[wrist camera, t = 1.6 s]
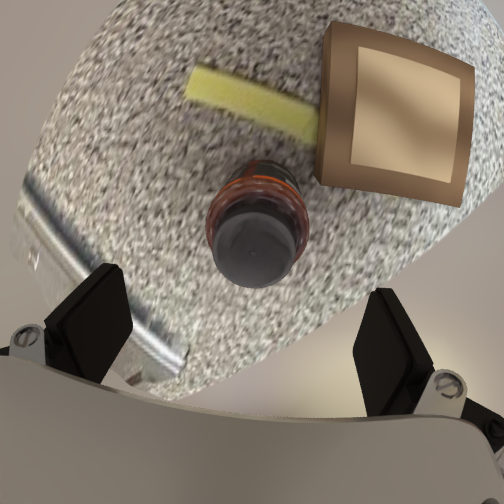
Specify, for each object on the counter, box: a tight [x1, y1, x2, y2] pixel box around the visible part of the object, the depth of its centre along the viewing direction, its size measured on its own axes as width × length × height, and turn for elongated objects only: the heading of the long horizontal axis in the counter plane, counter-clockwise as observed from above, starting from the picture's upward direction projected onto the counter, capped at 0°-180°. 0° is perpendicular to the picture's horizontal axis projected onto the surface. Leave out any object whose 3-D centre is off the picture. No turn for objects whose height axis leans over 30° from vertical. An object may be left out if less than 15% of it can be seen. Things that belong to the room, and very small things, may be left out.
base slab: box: [314, 21, 475, 208], centre depth 18 cm, size 12×12×4 cm
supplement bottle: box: [205, 160, 309, 288], centre depth 18 cm, size 6×6×11 cm
